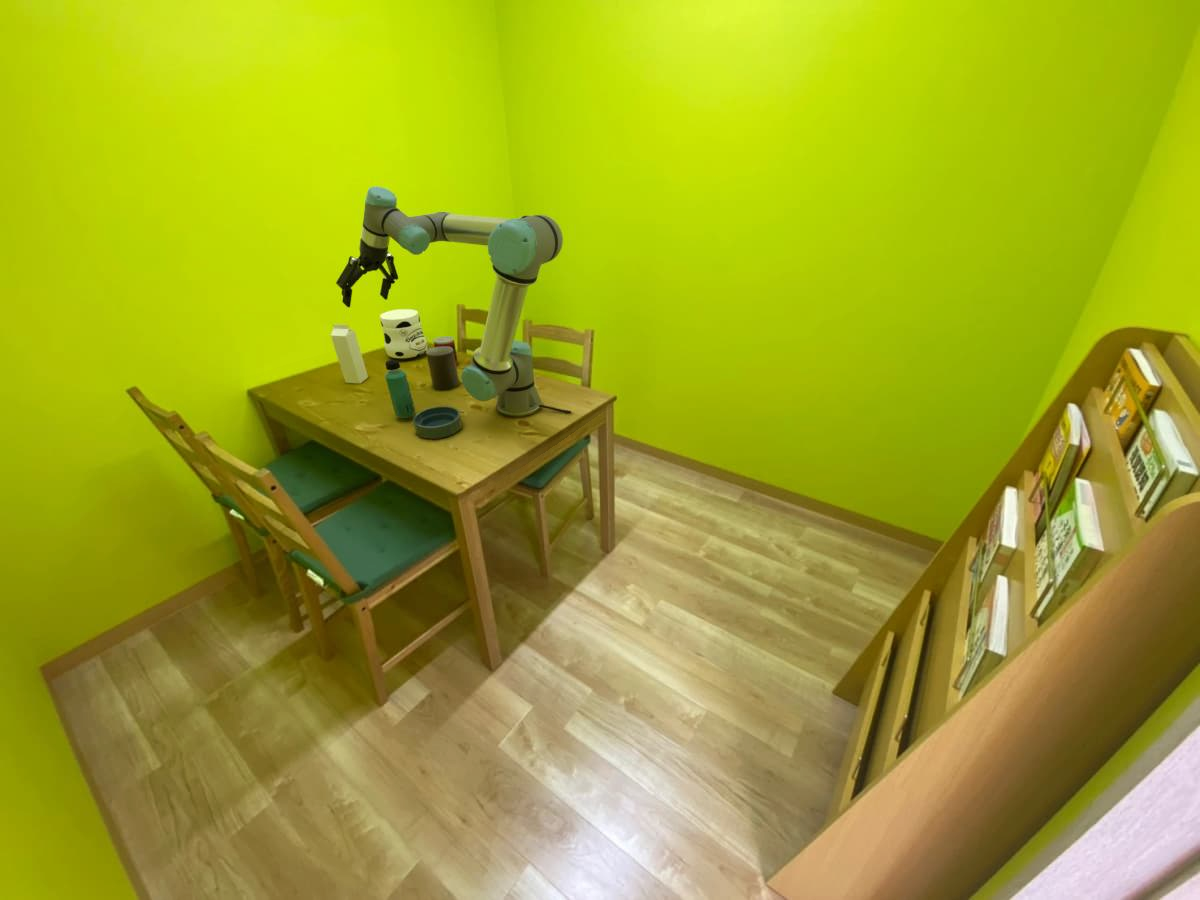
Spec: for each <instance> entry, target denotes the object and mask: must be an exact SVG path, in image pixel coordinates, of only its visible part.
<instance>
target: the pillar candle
mask: <svg viewBox="0 0 1200 900" xmlns="http://www.w3.org/2000/svg"><path fill="white" fill-rule="evenodd" d="M425 354H426V360H427V362H428V369H429V374H430V379H431V384H432V387H433V388H434V389H435V390H437V391H448V390H452V389H455V388H457V387H459V385H460V379H459V374H458V368H457V365H456V363H455V357H454V352H453V348H451V347H445V346H440V347H430V348H428V349H427V351H426V353H425Z"/></svg>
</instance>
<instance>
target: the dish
mask: <svg viewBox="0 0 1200 900" xmlns="http://www.w3.org/2000/svg"><path fill="white" fill-rule="evenodd" d="M412 423H413V426H414V427H413V428H414V430H415V433H416V434H417V436H419V437H421V438H422V439H423V438H424V439H429V440H430V439H441V438H442V439H443V438H447V437H449V436H452V435H454V434H456V433H457V432H458V431H460V430H461V429H462V427H463V422H462V416H461V412H460V410H458V409H457V408H456V407H453V406H447V405H445V406H444V405H443V406H442V405H441V406H440V405H439V406H433V407H429V408H426V409H423V410H421V411H420V412H418V413H416V414H414V417H413V419H412Z"/></svg>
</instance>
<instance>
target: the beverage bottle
mask: <svg viewBox="0 0 1200 900" xmlns="http://www.w3.org/2000/svg"><path fill="white" fill-rule="evenodd" d="M385 368H386V370H388V371H387V372H386V373H385V375H384V378H385V381H386V384H387V388H388V389H387V390H388V392H389V396H390V401H391V404H392V408H393V411H394V415H395V416H396V418H398V419H407V418H410V417H413V416H415V415H416V414H415V413H416V409H415V404H414V399H413V397H412V393H411V388H410V384H409V382H408V381H409V380H408V378H407V373H406V372H405V371H404V370H402V369H400V368H401V364H400V361H399V359H390V360H387V361H385Z"/></svg>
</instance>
